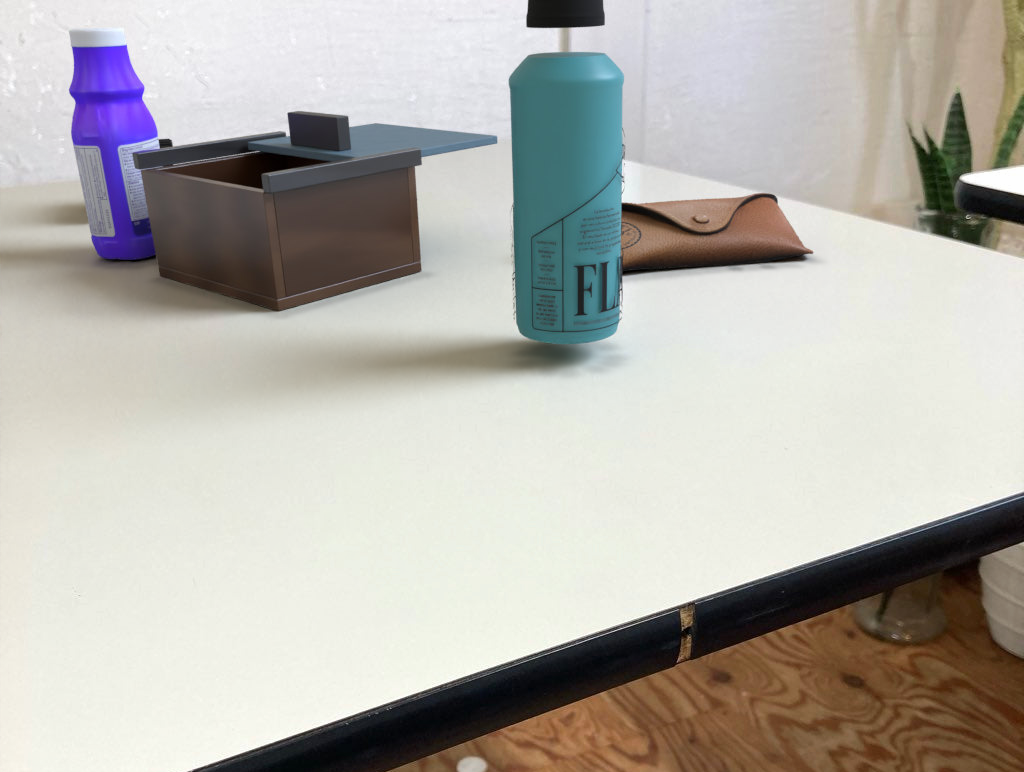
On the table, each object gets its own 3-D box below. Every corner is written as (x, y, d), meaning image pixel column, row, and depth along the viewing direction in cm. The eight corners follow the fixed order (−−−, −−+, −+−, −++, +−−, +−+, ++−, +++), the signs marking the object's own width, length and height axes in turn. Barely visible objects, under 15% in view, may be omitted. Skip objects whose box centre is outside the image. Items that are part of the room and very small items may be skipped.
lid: (248, 149, 84) (242, 110, 82) (376, 130, 92) (373, 94, 91) (368, 167, 75) (364, 123, 73) (497, 143, 83) (496, 103, 82)
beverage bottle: (575, 378, 59) (576, -19, 50) (490, 354, 63) (476, -17, 54) (643, 348, 63) (656, -22, 54) (560, 328, 67) (558, -20, 58)
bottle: (129, 243, 92) (88, 26, 84) (188, 244, 91) (152, 25, 83) (83, 263, 86) (33, 31, 78) (146, 265, 85) (102, 30, 77)
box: (153, 274, 82) (131, 152, 78) (293, 242, 91) (280, 131, 87) (285, 313, 72) (267, 175, 67) (429, 272, 80) (421, 148, 76)
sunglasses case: (601, 272, 77) (588, 184, 77) (577, 298, 84) (566, 218, 84) (823, 253, 81) (809, 169, 81) (782, 280, 88) (770, 202, 88)
